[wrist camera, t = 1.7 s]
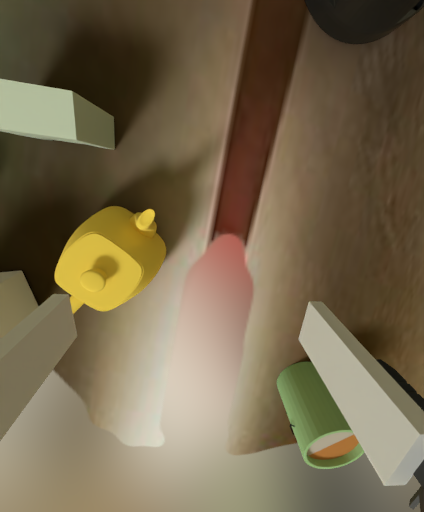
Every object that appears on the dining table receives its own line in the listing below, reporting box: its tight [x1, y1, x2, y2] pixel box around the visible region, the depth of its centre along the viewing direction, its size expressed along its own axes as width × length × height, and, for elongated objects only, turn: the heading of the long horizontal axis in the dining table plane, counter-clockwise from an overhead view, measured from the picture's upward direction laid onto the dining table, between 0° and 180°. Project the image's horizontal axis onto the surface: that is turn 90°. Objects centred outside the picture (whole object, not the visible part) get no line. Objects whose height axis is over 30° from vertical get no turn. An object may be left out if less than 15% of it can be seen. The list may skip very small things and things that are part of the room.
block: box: [0, 79, 115, 150], centre depth 21 cm, size 4×9×9 cm, turn 83°
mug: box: [277, 362, 364, 469], centre depth 39 cm, size 13×10×12 cm
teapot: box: [55, 206, 166, 314], centre depth 26 cm, size 18×11×11 cm, turn 136°
